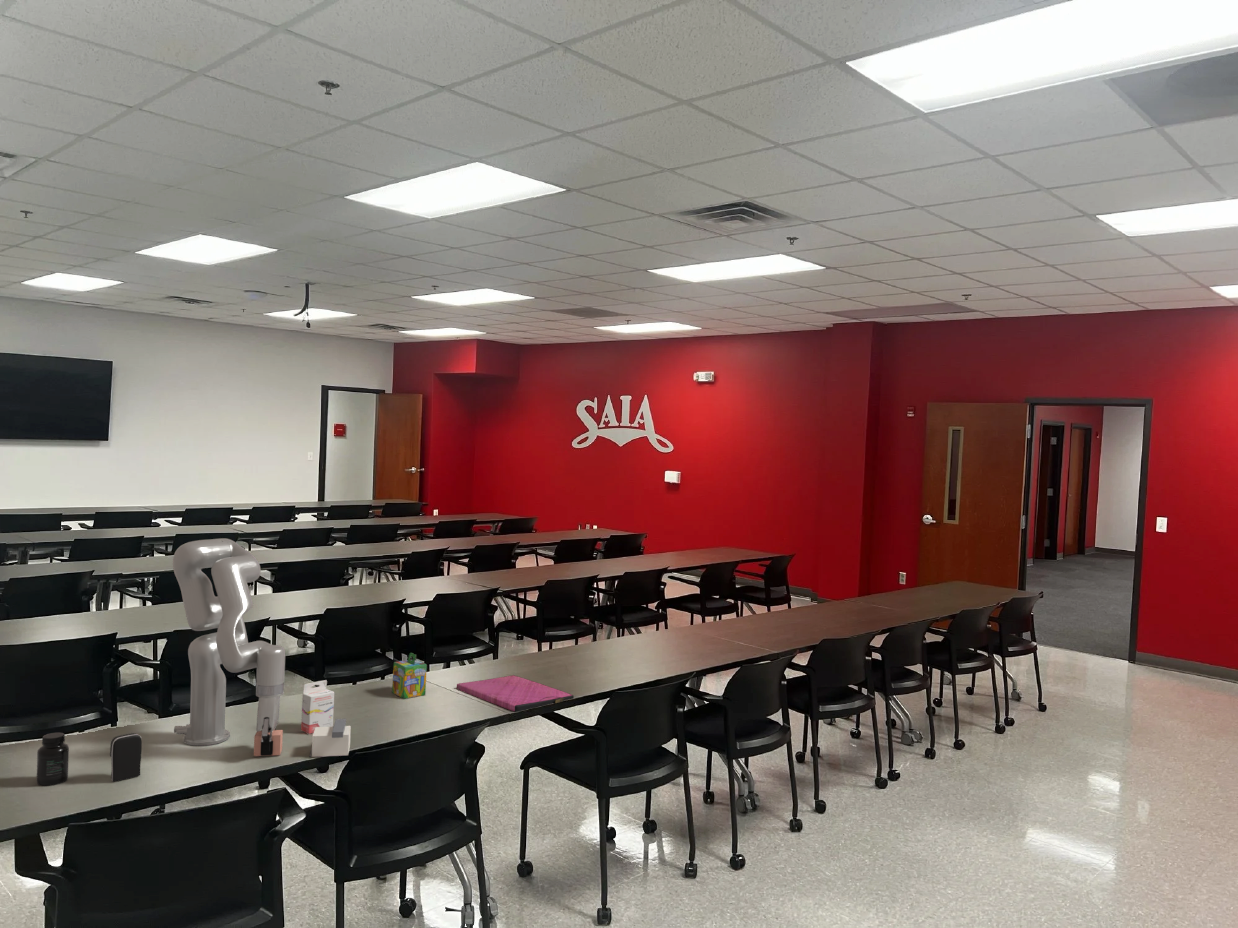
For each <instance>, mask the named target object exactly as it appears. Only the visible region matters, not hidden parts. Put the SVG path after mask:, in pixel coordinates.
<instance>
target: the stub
mask: <svg viewBox="0 0 1238 928" xmlns="http://www.w3.org/2000/svg"><path fill="white" fill-rule="evenodd" d="M283 732H284V730H283V729H276V730H274V731H273V734H272V741H273V754H272V755H263V756H262V755H261V738H262V730H261V731H259V732H257V731H256V732H255V734H254V737H253V738H254V739H253V741H254V742H253V743H254V744H253V757H264V756H265V757H268V756H280V755H281V754H282V751H283V738H284V737H283V735H284V733H283ZM268 734H269V735H270V733H268Z"/></svg>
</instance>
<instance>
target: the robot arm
mask: <svg viewBox="0 0 1238 928" xmlns="http://www.w3.org/2000/svg"><path fill="white" fill-rule="evenodd" d="M205 568H206V569H208V568H211V570H210V571H211V574H210V575H211V577H212V580H213V584H214V588H215V591H216V595H217V596H216V595H215V593H214V588H213V584H212V581H211V580H210V578H209V577H208V576H207V574H205V573H204V572H203V571H202V570H203V569H205ZM172 570H173V572H174V576H175V577H176V580H177V582H178V585H179V589H180V591H181V597H182V601H183V607H184V611H185V617H186V620H187V624H188V626H189V628H190V629H191V630H192V631H195V632H201V631H203V632H204V631H208V630H213V629H217V632H212V633H209V634H204V635H201V636H199V637H196V638H195V639H193V641H191V642H190V644H189V645H188V649H187V655H188V661H189V667H190V703H189V704H190V710H189V711H190V712H189V723H188V724H186V725H175V726H174V728H173V732H174V733H175V734H176V735H183V742H184V743H185V744H186V745H189V746H196V747H197V746H198V747H199V746H201V747H202V746H210V745H211V746H212V745H216V744H220V743H223V742H225V741H228V739H229V738H230V737H231V732H230V731H229V730H228V729H225V726H226V699H227V697H226V695H227V678H226V675H225V673H224V671H223V670H222V668H221V665H222V666H223V667H224V669H226V671H228V672H230V673H235V674H237V673H241V672H244V671H247V670H248V671H249V670H251V669H256V677H255V678H256V681H255V683H256V684H255V685H256V687H255V696H256V697H258V703H257V713H256V715H257V716H256V729H255V731H256V732H259V731H262V738H261V755H262V756H261V757H264V756H263V755H271V756H273V755H272V754H273V741H272V734H273V731H274V730H277V729H276V728H277V725H278V723H279V720H280V707H281V705H280V704H281V702H280V701H281V698H280V697H281V696H282V695H285V694H284V693H285V676H286V675H285V671H286V649H285V647H284V646H282V645H279V644H278V645H277V644H271V643H269V642H267V641H264V640H256V641H255V640H254V641H252V642H251V641H250V642H249V640H248V635H247V629H246V625H245V620H244V616H245V614H247V613H248V612H250V611H251V610H252V608H253V606H254V602H253V599H252V596H251V592H250V589H249V585H248V583H254V582H255V581H257V580H258V579H259V578H260V576H261V572H262V571H261V565H260V563H259V561H258V559H257V558H256V557H255V556H254V555H253V554H252V553H251V552H250V551H248V550H247V549H246V548H244V547H243V546H241V545H240V544H238V543H237V542H236V541H234V540H232V539H230V538H223V537H222V538H221V537H220V538H213V539H211V538H210V539H199V540H192V541H188V542H186V543H184V544H181V545H180V546H179V547H178V548H177V549H176V550H175V552H174V554H173V557H172ZM268 733H270V735H269V734H268Z"/></svg>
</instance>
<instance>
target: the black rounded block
mask: <svg viewBox="0 0 1238 928" xmlns="http://www.w3.org/2000/svg"><path fill="white" fill-rule="evenodd" d="M142 743H143V740H142V736H141V735H140V734H138V733H135V732H131V733H125V734H121V735H117V736H115V737H113V738H112V739H111V741H110V747H109V750H110V751H109V756H110V759H111V772H110V773H111V774H110V778H111V781H112V782H119V781H125V780H130V779H133V778H137V777H141V763H142V750H143V748H142V746H143V745H142Z"/></svg>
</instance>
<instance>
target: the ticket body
mask: <svg viewBox="0 0 1238 928" xmlns="http://www.w3.org/2000/svg"><path fill="white" fill-rule="evenodd" d="M351 727H352V726H351V725H347V718H335V719H334V723H333V726H332V727H315V730H314V733H312V738H311V739H312V742H311V744H312V746H311V750H310V753H309V758H311V757H312V758H318V757H339V756H340V757H341V756H349V753H350V747H351V730H352V729H351Z"/></svg>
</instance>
